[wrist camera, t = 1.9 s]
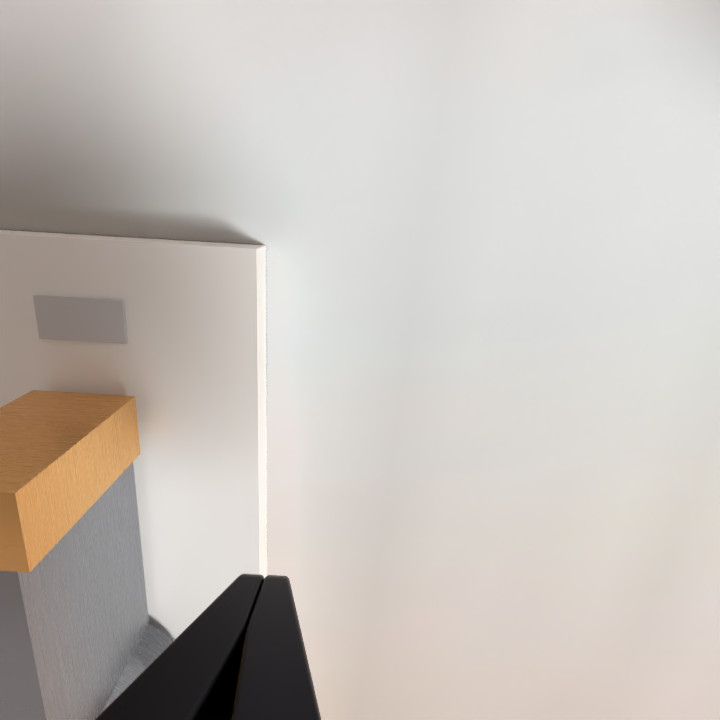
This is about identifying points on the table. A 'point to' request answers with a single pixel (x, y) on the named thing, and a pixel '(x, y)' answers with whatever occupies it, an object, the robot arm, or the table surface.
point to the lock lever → (70, 556)
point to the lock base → (157, 388)
